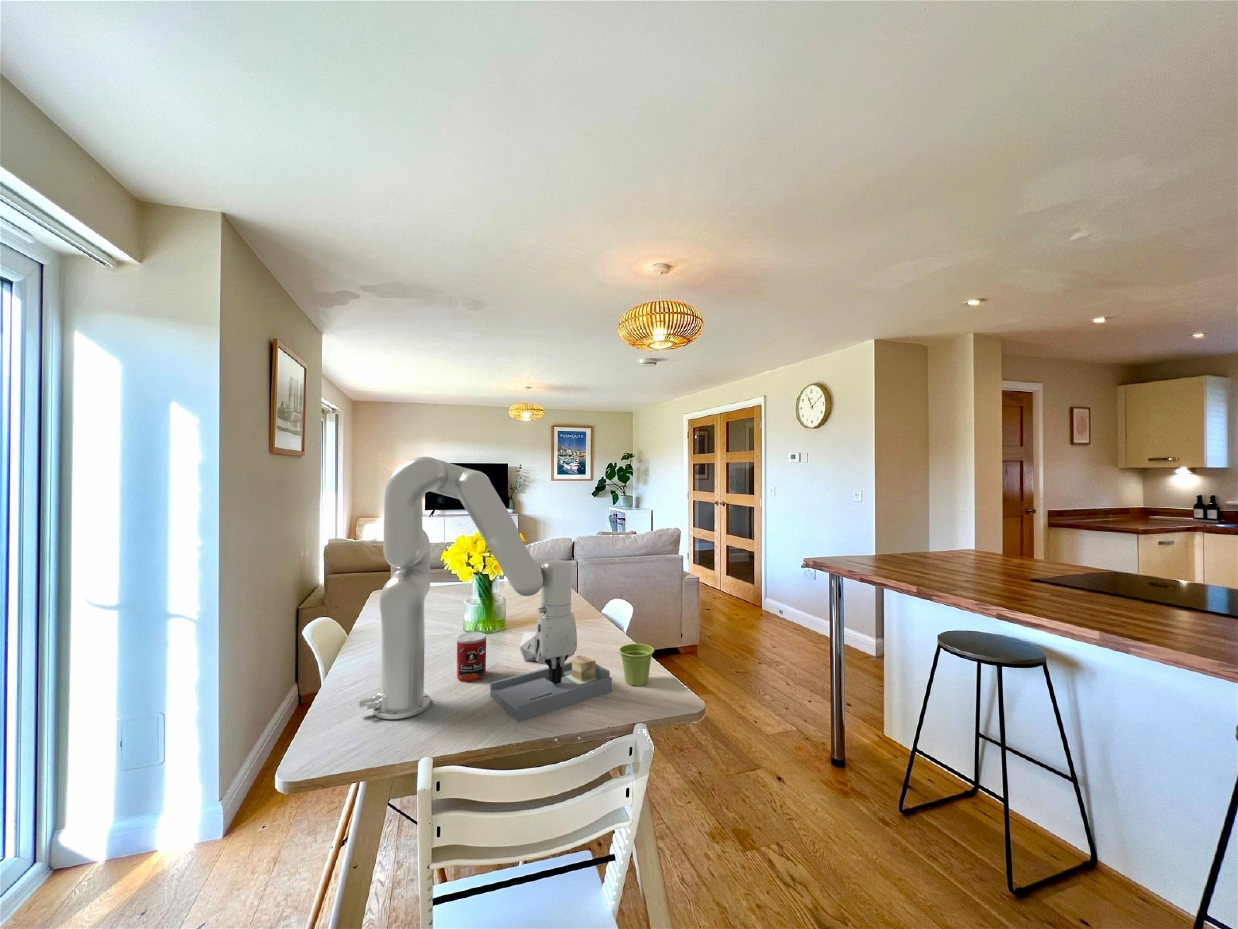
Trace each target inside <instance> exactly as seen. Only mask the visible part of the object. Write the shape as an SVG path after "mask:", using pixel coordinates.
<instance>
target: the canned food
mask: <svg viewBox="0 0 1238 929" xmlns="http://www.w3.org/2000/svg"><path fill="white" fill-rule="evenodd" d="M456 644H457V645H456V677H457V680H459V681H461V682H464V683H473V682H477V681H480V680H482V679H483V678H485V676H486V673H487V668H486V667H487V635H486V633H484V632H480V631H479V632H478V631H472V632H466V633H462V634H460V635H459V636H457V639H456Z"/></svg>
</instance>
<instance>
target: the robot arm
mask: <svg viewBox="0 0 1238 929" xmlns="http://www.w3.org/2000/svg"><path fill="white" fill-rule="evenodd" d="M428 492H431V493H435V494H439V495H442V496H446V497H449V498H454V499H457V500H459V501H460V503H461V504H462V506H463V508H464V509H465V511H466V513H467V514H468V515H469V517H470V518H471V520H472V522H473V524H474V526H475V527H476V529H477V530H478V532H479V534H480V535H481V537H482V539H483V540H484V542H485V544H486V546H487V547H488V549H489V550H490V552H491V554H492V555H493V557H494V558H495V561H496V562H497V564H498V566H499V567H500V569H501V571H502V572H503V574H504V575H505V577H506V579H507V581H508V582H509V584H510V586H511V588H513V590H514V592H515V593H517V594H519V595H520V596H523V597H532V596H535V595H536V594H537V593H539V592H540V591H541V604H540V607H538V608H537V609H536V612H537V614H540V615H539V617H538V620H537V626H536V631H535V632H536V643H535V650H536V654H537V657H536V660H535V661H536V662H537V663H538V664H545V665H546V666H548V667H549V680H550V681H551V682H552V683H554V684H557V683H561V678H562V667H563V666H564V663H566V661H567V660H568V658H570V657H572V656H574V655H575V653H576V651H577V650H578V632H577V624H576V618H575V614H574V613H573V612H572V576H573V575H572V573H573V572H572V565H571V563H570V561H568V560H563V559H551V560H540V559H539V560H538V559H534V558H533V557H532V555H531V553H530V552H529V549H528V548H527V546H526V545H525V543H524V541H523V538H522V536H521V535H520V532H519V530H518V528H517V525H516V523H515V521H514V519H513V517H512V515H511V514H510V512H509V511H508V509H507V507H506V505H505V504H504V503H503V501H502V499H501V497H500V496H499V494H498V493H497V490H496V489H495V487H494V485H493V484H492V483H491V480H490V478H489V476H487V474H485V473H484V472H482V471H479V470H475V469H471V468H467V467H463V466H460V465H456V464H453V463H451V462H447V461H443V460H442V459H441V460H440V459H438V458H434V457H432V456H419V457H416V458H413V459H410V460H408V461H406V462H405V463H403V464H402V465H400V466H399V467H397V469H395V470H394V472H393V473H392V474H391V475H390V477H389V479H388V480H387V483H386V486H385V491H384V497H383V498H384V503H383V504H384V505H383V506H384V508H383V545H382V546H383V547H382V552H383V557H384V559H385V561H386V562H387V563H388V565H389V566H390V579H388V580H387V582H386V583H385V584H384V586H383V588H382V590H381V592H380V597H379V614H380V629H381V630H380V635H381V636H380V638H381V639H380V688H378V689H376V693H374V694H373V695H372V696H369V697H363V698H359V699H357V708H358V709H361V708H365V709H366V710H371V709H372V713H373V715H374V716H375V717H377V718H380V719H381V720H382V719H383V720H399V719H400V720H402V719H405V718H410V717H412V716H413V717H414V716H415V715H419V714H421V713H423V712H424V711H426V710H427V709H428V708H429V707H430V705H431V704H432V701H431V700H432V699H431V696H430V695H429V694H428V693H426V692H425V646H426V645H425V644H426V643H425V642H426V641H425V640H426V639H425V633H426V632H425V628H426V627H425V624H426V623H425V622H426V621H425V599H426V597H427V595H428V593H429V591H430V588H431V544H430V538H429V536H428V534H427V532H426V531H425V530H424V529H423V510H424V509H423V499H424V498H423V497H424V496H425V494H426V493H428Z"/></svg>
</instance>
